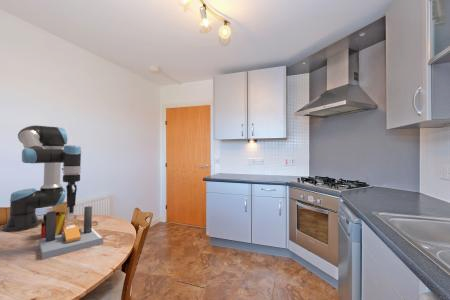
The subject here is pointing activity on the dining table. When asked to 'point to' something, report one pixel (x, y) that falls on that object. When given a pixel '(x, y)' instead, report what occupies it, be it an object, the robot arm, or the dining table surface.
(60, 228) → the mug
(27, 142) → the robot arm
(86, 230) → the post
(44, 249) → the panel
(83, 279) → the dining table surface
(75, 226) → the paddle
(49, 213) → the cylinder
